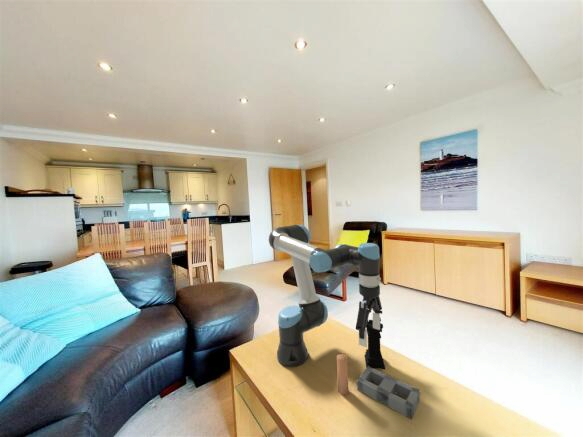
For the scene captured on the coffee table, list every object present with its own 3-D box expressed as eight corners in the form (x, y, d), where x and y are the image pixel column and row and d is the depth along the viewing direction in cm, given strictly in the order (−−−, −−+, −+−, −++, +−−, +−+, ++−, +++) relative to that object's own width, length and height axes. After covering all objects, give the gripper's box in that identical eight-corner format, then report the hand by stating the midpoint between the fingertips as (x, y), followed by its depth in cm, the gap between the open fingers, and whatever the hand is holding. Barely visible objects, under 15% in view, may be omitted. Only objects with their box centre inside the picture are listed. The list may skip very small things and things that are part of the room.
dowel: (336, 391, 93) (334, 358, 92) (341, 385, 96) (340, 353, 95) (345, 396, 90) (343, 362, 89) (350, 390, 93) (349, 357, 92)
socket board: (357, 389, 93) (356, 380, 93) (368, 374, 101) (367, 366, 100) (411, 419, 80) (411, 408, 79) (419, 399, 87) (419, 389, 87)
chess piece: (385, 369, 103) (384, 326, 102) (366, 367, 105) (365, 325, 103) (382, 357, 111) (380, 316, 109) (364, 356, 113) (363, 316, 111)
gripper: (365, 298, 77) (366, 358, 79) (390, 276, 96) (390, 325, 98) (345, 293, 82) (346, 349, 84) (372, 273, 101) (372, 319, 103)
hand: (370, 336), depth 91 cm, fingers open, 13 cm apart
